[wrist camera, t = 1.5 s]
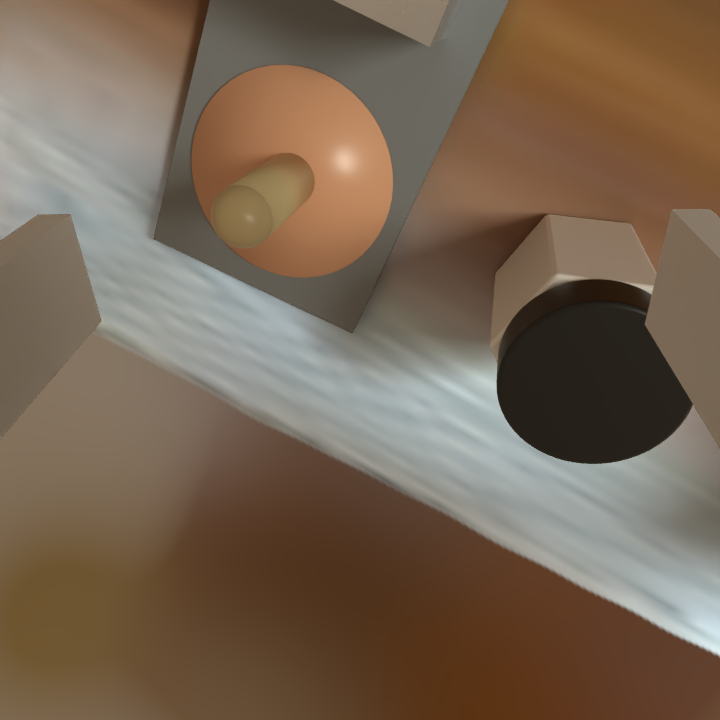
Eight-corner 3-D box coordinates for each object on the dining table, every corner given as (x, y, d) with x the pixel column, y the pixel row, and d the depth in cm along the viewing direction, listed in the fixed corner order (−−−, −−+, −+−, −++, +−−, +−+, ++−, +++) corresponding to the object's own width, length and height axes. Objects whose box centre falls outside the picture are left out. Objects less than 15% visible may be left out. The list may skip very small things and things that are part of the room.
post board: (318, -415, 26) (219, -623, 17) (629, -258, 26) (685, -385, 17) (160, 233, 41) (68, 294, 33) (355, 326, 42) (314, 410, 33)
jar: (484, 333, 40) (473, 448, 30) (506, 206, 36) (502, 288, 26) (633, 355, 39) (675, 483, 28) (674, 224, 34) (740, 319, 24)
